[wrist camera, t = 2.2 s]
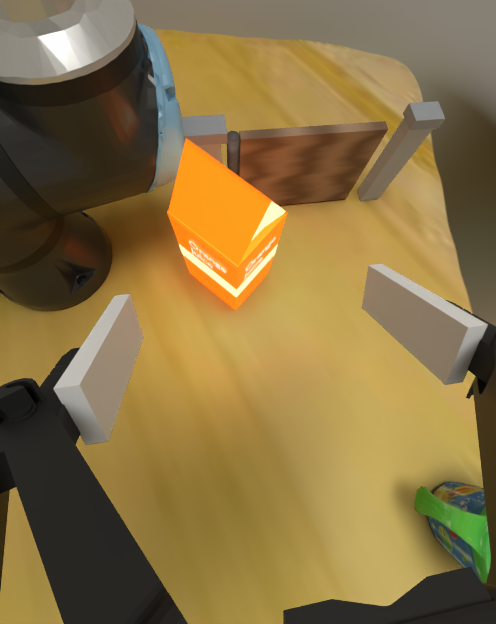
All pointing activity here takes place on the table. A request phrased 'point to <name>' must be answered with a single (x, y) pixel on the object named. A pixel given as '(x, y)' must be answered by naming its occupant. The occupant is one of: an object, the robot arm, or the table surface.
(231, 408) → the table surface
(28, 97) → the robot arm
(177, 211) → the orange juice
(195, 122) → the grey rectangular posts
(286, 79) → the table surface
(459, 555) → the snack cup
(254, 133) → the gate
